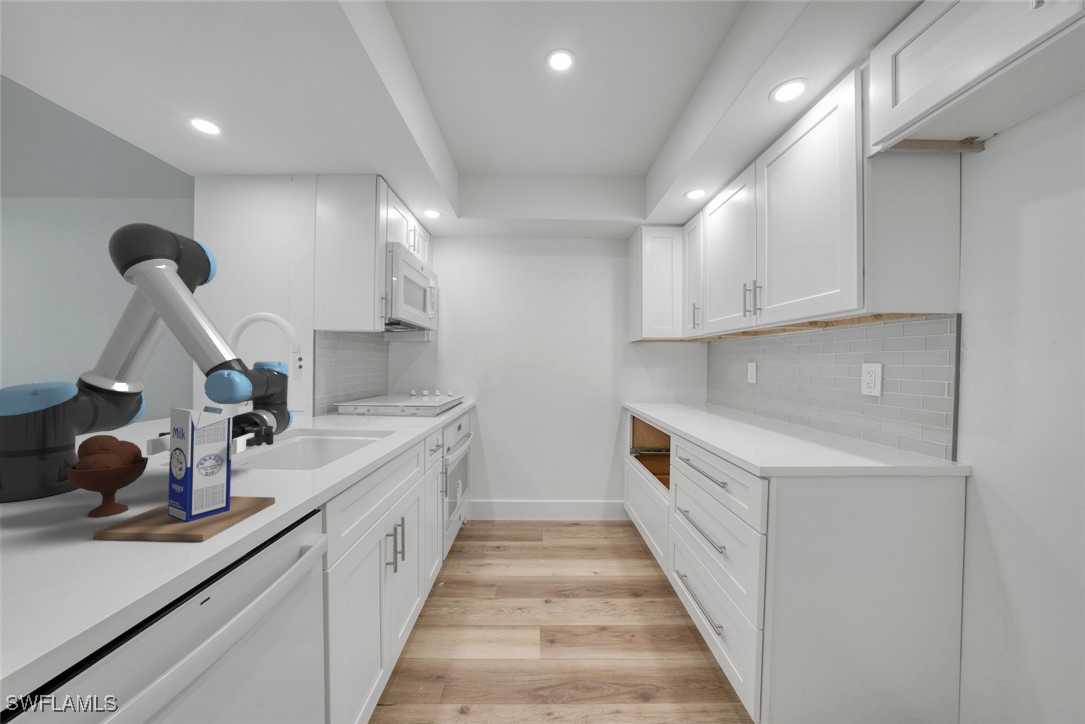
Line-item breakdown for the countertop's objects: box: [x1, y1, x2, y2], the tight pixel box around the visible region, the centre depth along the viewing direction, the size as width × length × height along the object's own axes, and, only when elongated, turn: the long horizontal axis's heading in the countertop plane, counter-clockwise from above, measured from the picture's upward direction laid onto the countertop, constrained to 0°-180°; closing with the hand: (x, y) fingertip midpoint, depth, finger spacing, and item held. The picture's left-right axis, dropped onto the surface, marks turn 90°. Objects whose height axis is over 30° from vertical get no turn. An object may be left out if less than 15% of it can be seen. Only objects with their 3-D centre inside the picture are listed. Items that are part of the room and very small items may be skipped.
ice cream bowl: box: [65, 434, 149, 519], centre depth 77 cm, size 11×11×15 cm
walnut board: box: [92, 495, 276, 543], centre depth 75 cm, size 18×18×1 cm
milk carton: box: [167, 405, 233, 522], centre depth 75 cm, size 7×7×20 cm
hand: (192, 447), depth 74 cm, fingers open, 13 cm apart
